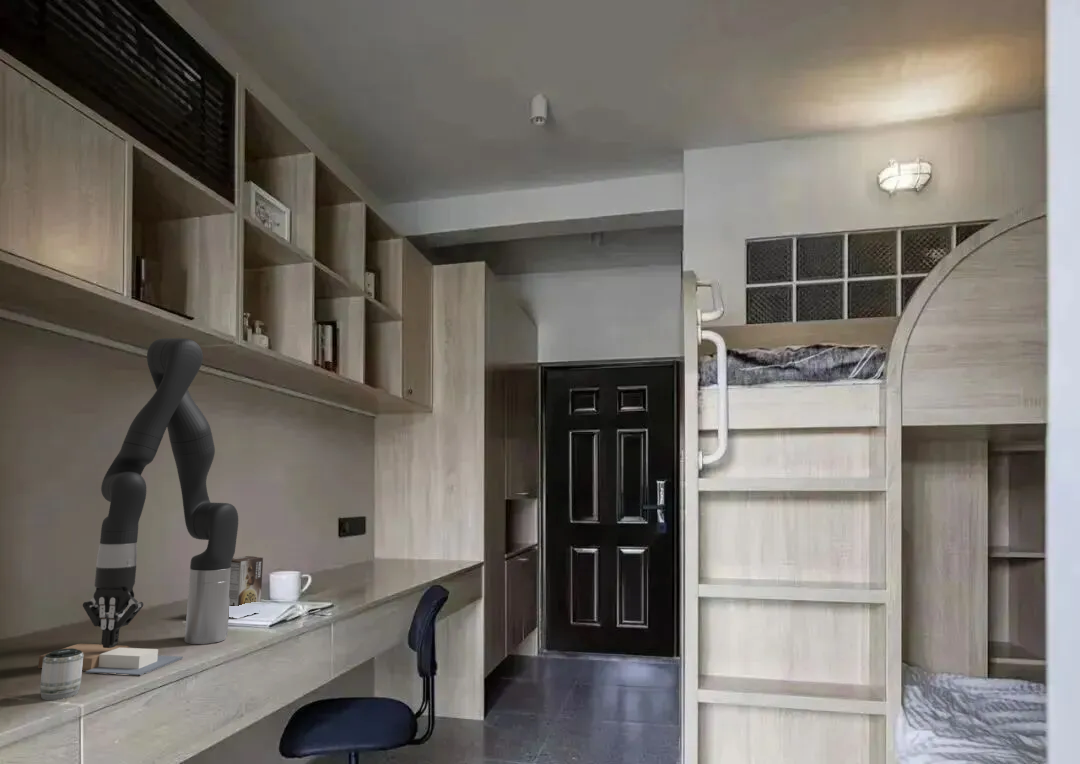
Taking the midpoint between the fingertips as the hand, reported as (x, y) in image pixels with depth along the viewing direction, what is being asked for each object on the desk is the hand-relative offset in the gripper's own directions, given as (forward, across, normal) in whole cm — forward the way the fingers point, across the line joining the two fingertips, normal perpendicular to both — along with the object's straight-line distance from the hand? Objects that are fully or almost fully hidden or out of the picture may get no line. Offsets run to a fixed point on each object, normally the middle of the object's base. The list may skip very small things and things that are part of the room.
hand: (109, 647), depth 151 cm
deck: (+4, +6, 0) cm, 7 cm away
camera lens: (+4, -6, +20) cm, 22 cm away
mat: (+4, -6, 0) cm, 7 cm away
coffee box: (+4, 0, -54) cm, 54 cm away
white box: (+3, -5, +1) cm, 6 cm away
